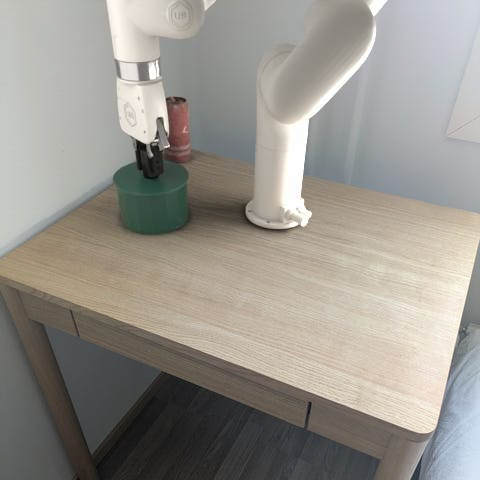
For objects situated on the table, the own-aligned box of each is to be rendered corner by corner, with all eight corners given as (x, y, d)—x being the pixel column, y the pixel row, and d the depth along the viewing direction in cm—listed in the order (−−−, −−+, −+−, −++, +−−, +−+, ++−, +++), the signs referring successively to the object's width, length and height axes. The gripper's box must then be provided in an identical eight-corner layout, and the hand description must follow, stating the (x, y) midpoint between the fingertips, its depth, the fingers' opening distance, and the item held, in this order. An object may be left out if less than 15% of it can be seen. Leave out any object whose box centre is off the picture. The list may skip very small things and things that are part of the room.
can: (181, 150, 126) (177, 93, 116) (195, 159, 122) (193, 100, 113) (161, 157, 123) (155, 98, 113) (175, 165, 119) (171, 106, 110)
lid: (204, 183, 96) (202, 150, 91) (139, 207, 89) (135, 172, 84) (161, 158, 104) (158, 127, 100) (99, 178, 97) (93, 145, 92)
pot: (201, 219, 101) (200, 180, 96) (145, 242, 95) (140, 202, 89) (164, 194, 109) (160, 157, 103) (109, 214, 102) (102, 175, 96)
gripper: (94, 61, 85) (112, 162, 98) (146, 85, 76) (158, 193, 89) (132, 54, 89) (144, 152, 101) (185, 76, 80) (191, 181, 92)
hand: (150, 170), depth 95 cm, fingers closed on lid, 3 cm apart
